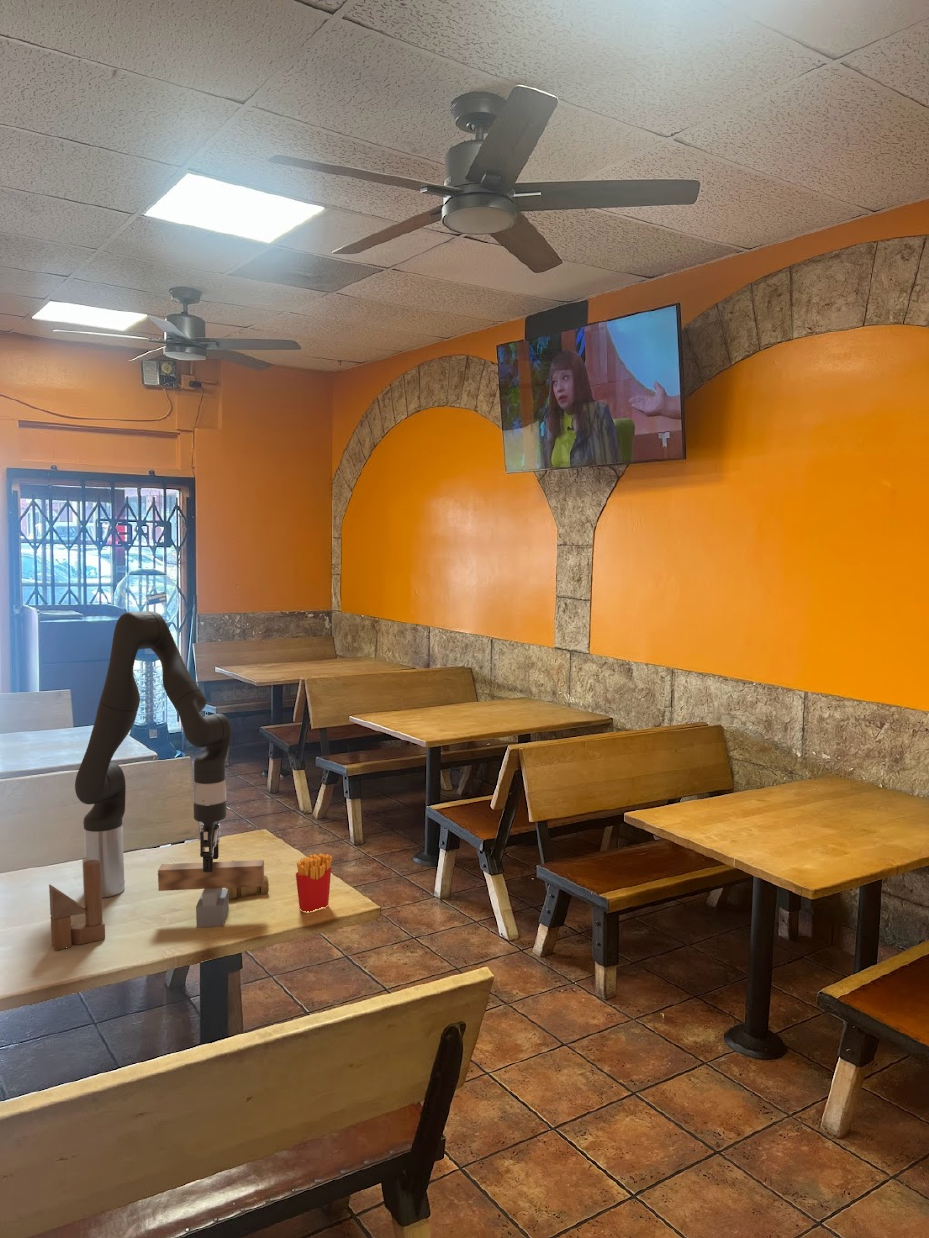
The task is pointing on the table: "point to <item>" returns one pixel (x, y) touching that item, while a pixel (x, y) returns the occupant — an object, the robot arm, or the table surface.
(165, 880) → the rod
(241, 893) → the gavel
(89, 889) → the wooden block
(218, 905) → the steps
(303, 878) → the french fries
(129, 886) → the table surface
